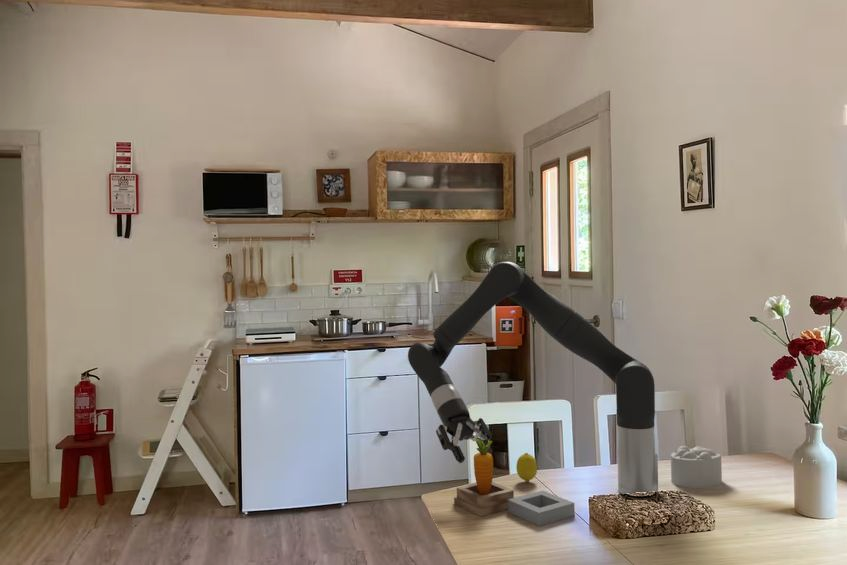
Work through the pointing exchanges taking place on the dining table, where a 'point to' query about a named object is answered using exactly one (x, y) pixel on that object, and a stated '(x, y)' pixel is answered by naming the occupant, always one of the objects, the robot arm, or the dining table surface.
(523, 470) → the lemon
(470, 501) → the square wooden tray
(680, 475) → the lumpy-topped squat cylinder
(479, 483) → the carrot
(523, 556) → the dining table surface
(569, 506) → the socket block
